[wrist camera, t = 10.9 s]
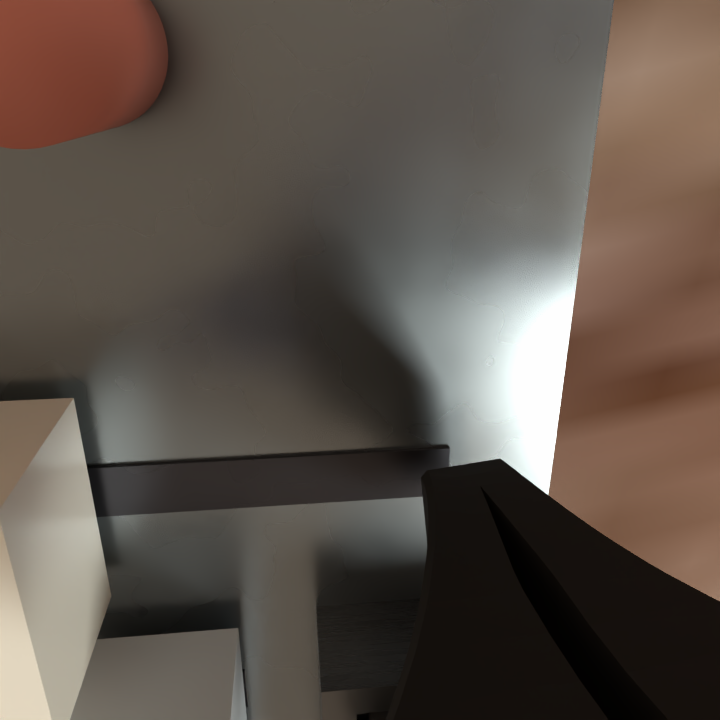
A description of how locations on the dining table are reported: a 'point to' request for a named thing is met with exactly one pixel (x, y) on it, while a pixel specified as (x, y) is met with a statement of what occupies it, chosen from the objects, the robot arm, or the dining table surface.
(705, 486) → the dining table surface
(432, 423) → the console
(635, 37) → the dining table surface
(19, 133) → the red lever
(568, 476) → the dining table surface
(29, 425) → the cream block
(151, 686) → the grey block
